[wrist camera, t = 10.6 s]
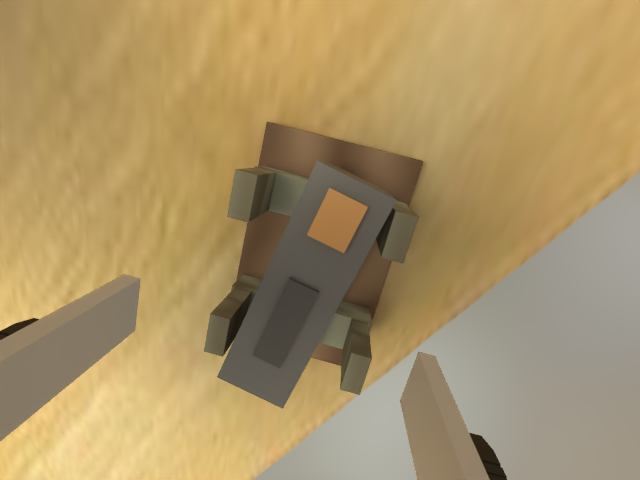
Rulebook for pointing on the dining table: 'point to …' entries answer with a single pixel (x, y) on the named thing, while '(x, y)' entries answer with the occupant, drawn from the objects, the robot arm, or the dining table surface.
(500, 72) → the dining table surface
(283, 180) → the rack
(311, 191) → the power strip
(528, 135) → the dining table surface
